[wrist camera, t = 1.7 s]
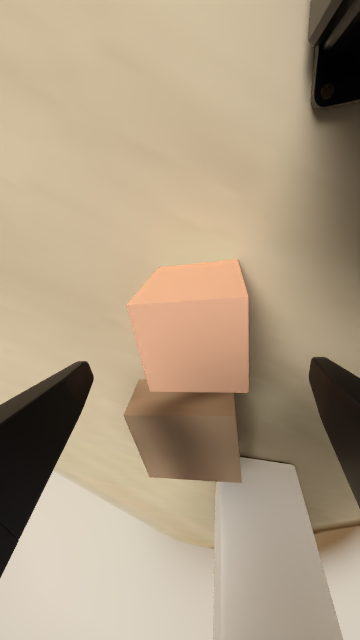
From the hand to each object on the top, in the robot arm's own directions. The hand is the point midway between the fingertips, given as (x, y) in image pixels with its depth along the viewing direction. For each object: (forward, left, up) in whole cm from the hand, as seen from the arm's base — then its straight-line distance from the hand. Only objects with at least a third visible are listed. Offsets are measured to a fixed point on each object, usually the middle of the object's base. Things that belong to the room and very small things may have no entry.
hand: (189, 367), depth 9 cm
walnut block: (+2, +11, -8) cm, 14 cm away
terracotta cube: (0, 0, -7) cm, 7 cm away
